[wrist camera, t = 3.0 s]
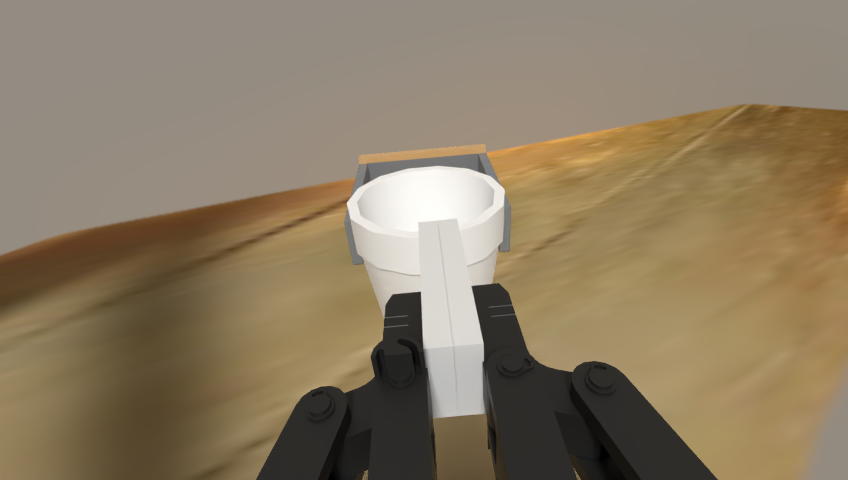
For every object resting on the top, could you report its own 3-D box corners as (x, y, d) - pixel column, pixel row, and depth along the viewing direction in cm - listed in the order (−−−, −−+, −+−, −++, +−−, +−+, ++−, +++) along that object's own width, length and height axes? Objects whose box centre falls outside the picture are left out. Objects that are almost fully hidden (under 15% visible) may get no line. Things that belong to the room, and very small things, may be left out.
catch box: (353, 264, 43) (342, 214, 39) (366, 196, 56) (359, 155, 53) (509, 251, 42) (511, 199, 39) (484, 185, 56) (484, 143, 53)
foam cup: (515, 323, 33) (522, 173, 27) (480, 420, 26) (478, 249, 20) (409, 299, 37) (391, 161, 30) (354, 378, 30) (314, 222, 23)
